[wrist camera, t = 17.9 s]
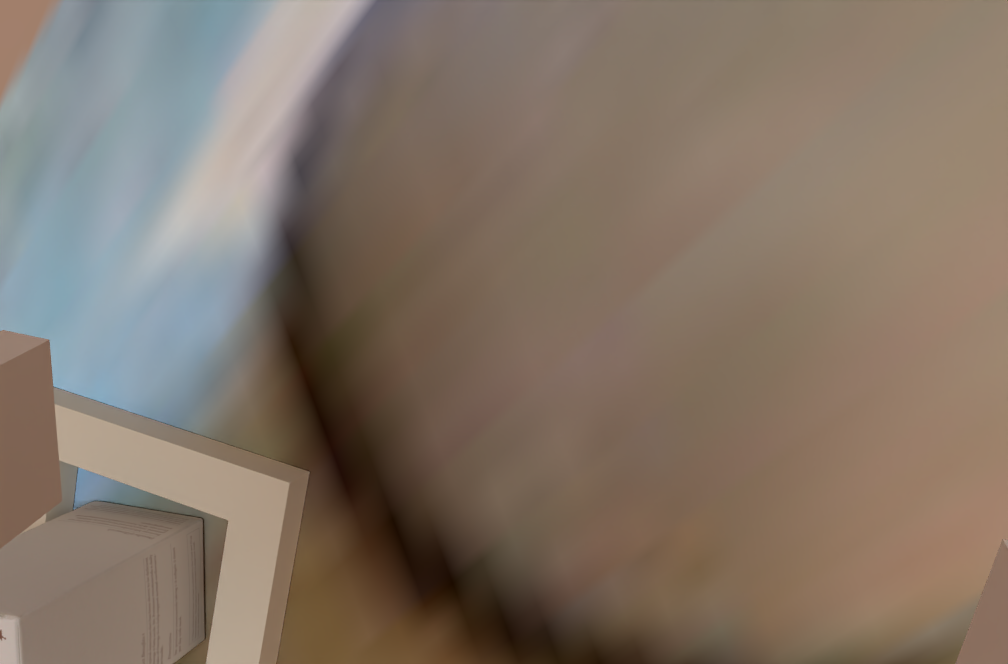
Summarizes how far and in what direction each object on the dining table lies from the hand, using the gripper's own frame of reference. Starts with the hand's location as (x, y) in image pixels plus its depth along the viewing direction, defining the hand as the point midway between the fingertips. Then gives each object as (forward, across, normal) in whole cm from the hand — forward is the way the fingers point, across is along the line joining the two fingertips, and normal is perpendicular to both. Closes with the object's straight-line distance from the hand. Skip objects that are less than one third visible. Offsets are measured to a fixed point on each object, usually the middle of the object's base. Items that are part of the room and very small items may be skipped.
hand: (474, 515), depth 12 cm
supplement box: (+27, -23, -26) cm, 44 cm away
